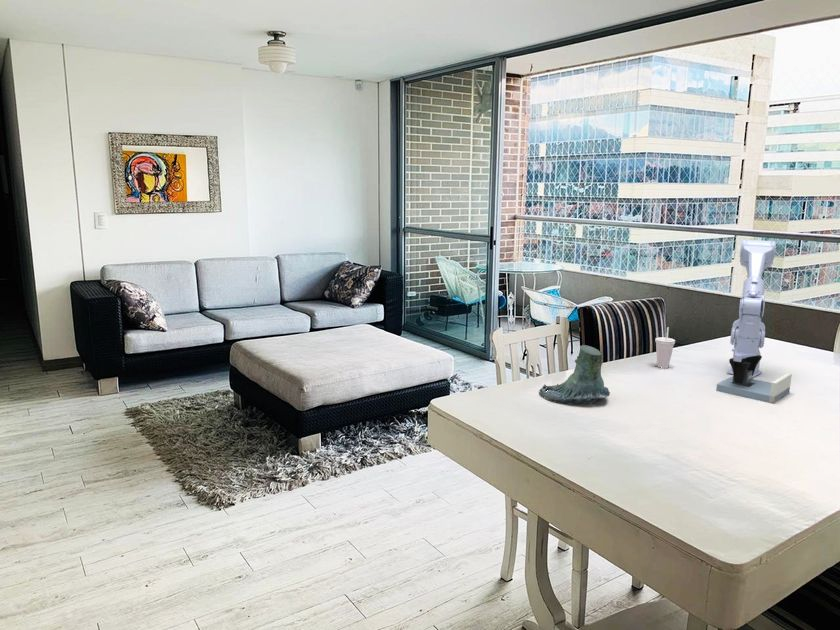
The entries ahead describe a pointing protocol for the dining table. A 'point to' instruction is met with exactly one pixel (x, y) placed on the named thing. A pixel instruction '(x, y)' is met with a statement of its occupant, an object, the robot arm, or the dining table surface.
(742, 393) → the outlet plate
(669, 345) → the smoothie
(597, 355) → the tree stump
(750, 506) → the dining table surface
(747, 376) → the plug
